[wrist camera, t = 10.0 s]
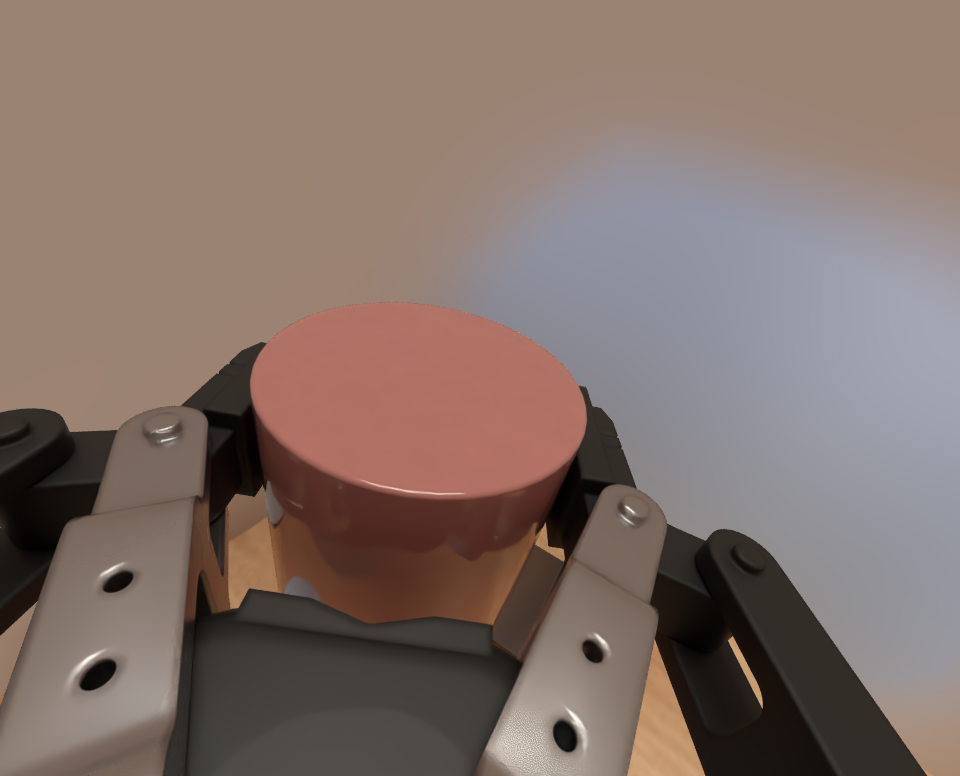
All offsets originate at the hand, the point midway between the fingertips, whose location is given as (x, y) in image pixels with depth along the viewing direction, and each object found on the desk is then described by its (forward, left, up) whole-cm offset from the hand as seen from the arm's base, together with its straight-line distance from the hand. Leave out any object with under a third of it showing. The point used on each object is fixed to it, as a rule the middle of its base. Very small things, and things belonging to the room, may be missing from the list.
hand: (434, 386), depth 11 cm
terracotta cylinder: (+1, -2, -8) cm, 8 cm away
